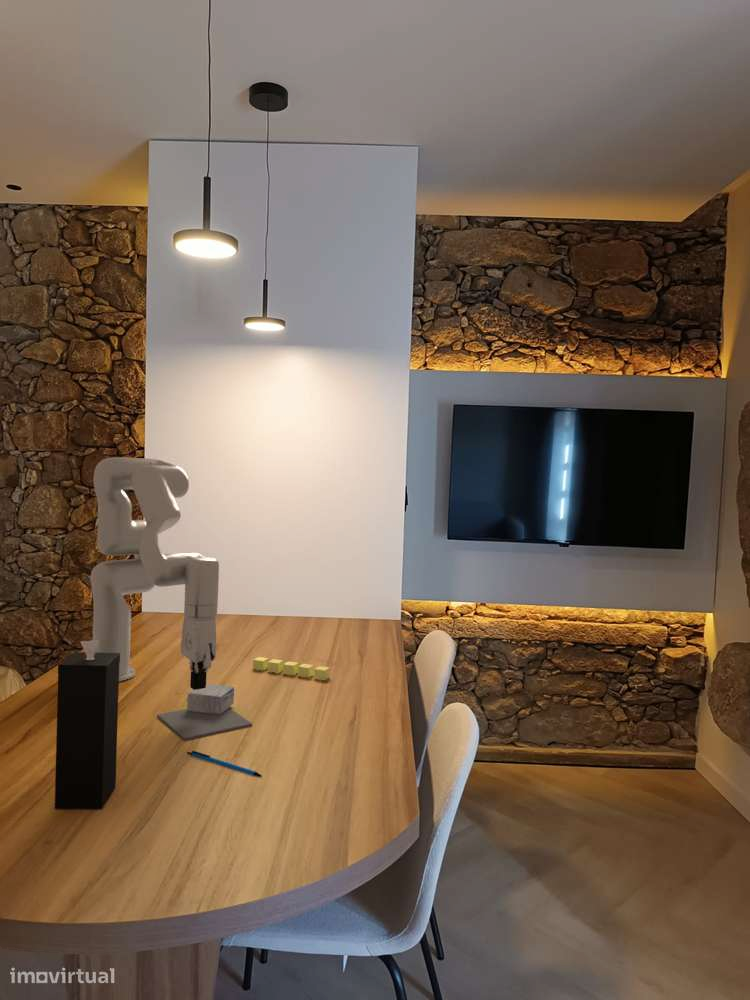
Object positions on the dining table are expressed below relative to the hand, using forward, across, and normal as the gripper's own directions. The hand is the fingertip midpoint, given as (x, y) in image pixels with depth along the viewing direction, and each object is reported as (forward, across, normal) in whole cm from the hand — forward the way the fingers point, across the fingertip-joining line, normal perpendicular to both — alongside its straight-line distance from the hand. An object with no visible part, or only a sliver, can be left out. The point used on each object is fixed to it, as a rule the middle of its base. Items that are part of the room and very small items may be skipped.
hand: (198, 687), depth 158 cm
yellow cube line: (+7, -19, +37) cm, 42 cm away
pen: (+7, +27, -6) cm, 29 cm away
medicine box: (+4, -5, +1) cm, 7 cm away
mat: (+7, +4, 0) cm, 8 cm away
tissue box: (+7, +27, -32) cm, 42 cm away
